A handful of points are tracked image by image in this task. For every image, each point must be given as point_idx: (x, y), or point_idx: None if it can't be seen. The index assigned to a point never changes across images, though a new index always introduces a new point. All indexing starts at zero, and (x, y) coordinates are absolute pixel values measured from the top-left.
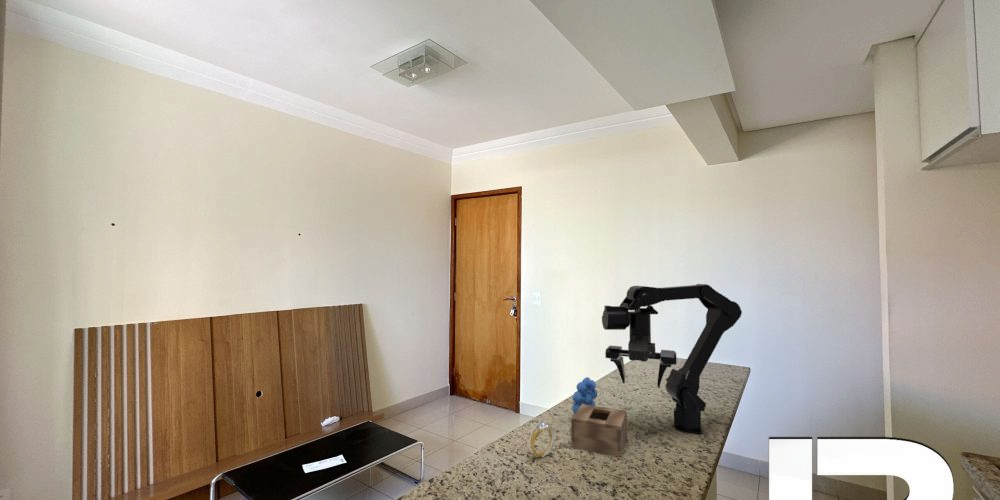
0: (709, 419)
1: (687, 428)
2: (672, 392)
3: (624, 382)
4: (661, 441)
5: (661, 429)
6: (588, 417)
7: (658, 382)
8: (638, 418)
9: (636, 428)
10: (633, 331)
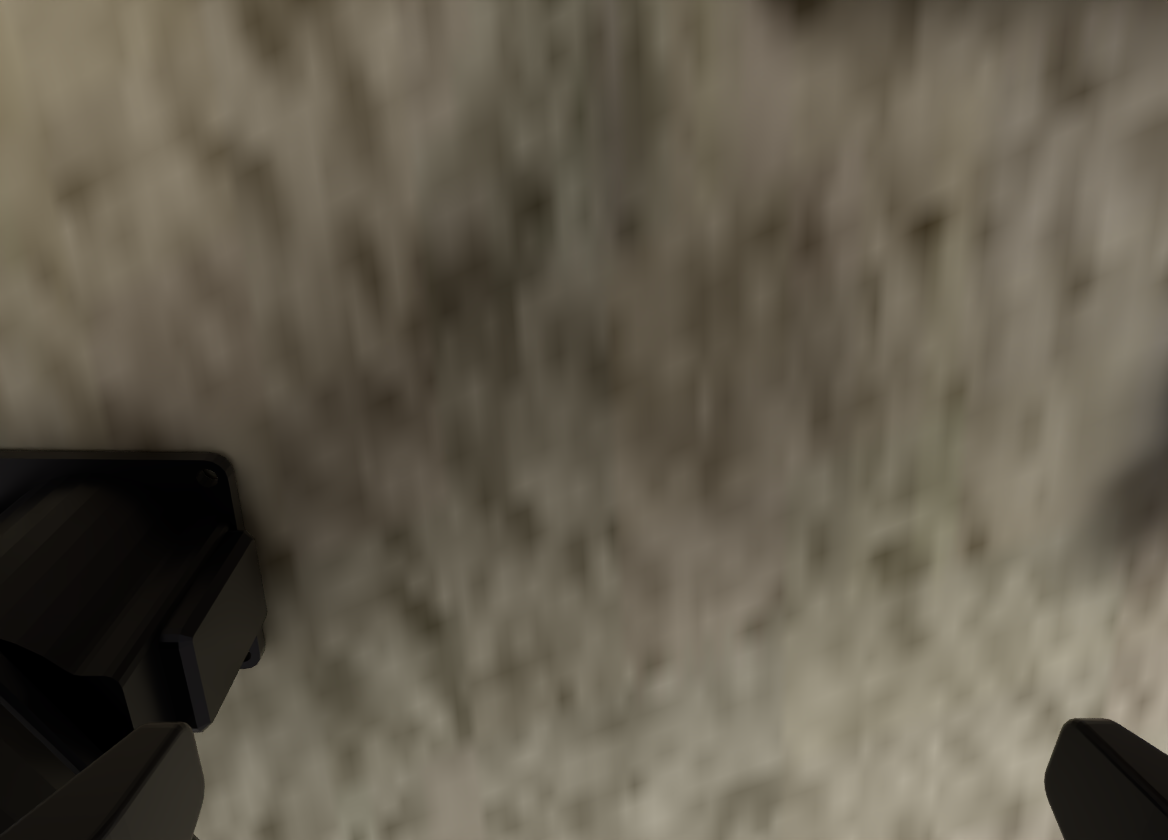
0: None
1: (96, 481)
2: (7, 813)
3: (1084, 743)
4: (331, 43)
5: (380, 421)
6: None
7: (65, 834)
8: (635, 614)
9: (646, 335)
10: None
